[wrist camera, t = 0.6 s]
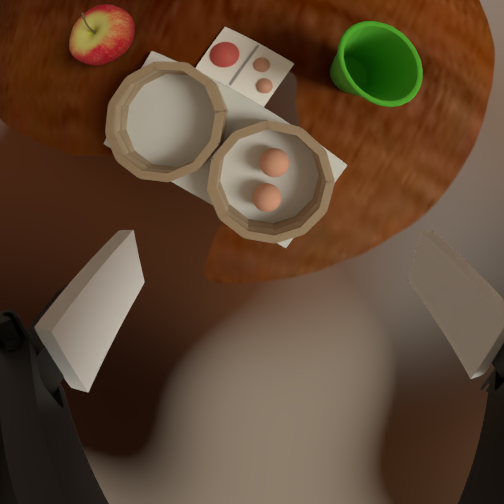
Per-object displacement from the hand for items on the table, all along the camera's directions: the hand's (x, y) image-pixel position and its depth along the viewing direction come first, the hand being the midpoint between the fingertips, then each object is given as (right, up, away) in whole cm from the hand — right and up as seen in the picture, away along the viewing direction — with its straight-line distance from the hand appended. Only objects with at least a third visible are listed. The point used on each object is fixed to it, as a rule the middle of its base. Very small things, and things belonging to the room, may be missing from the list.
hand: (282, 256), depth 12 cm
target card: (-2, +23, +17) cm, 29 cm away
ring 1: (-11, +16, +19) cm, 27 cm away
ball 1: (+1, +11, +21) cm, 24 cm away
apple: (-19, +29, +14) cm, 38 cm away
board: (-5, +13, +22) cm, 26 cm away
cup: (+11, +23, +17) cm, 30 cm away
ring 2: (+1, +9, +22) cm, 24 cm away
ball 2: (+1, +8, +23) cm, 25 cm away
